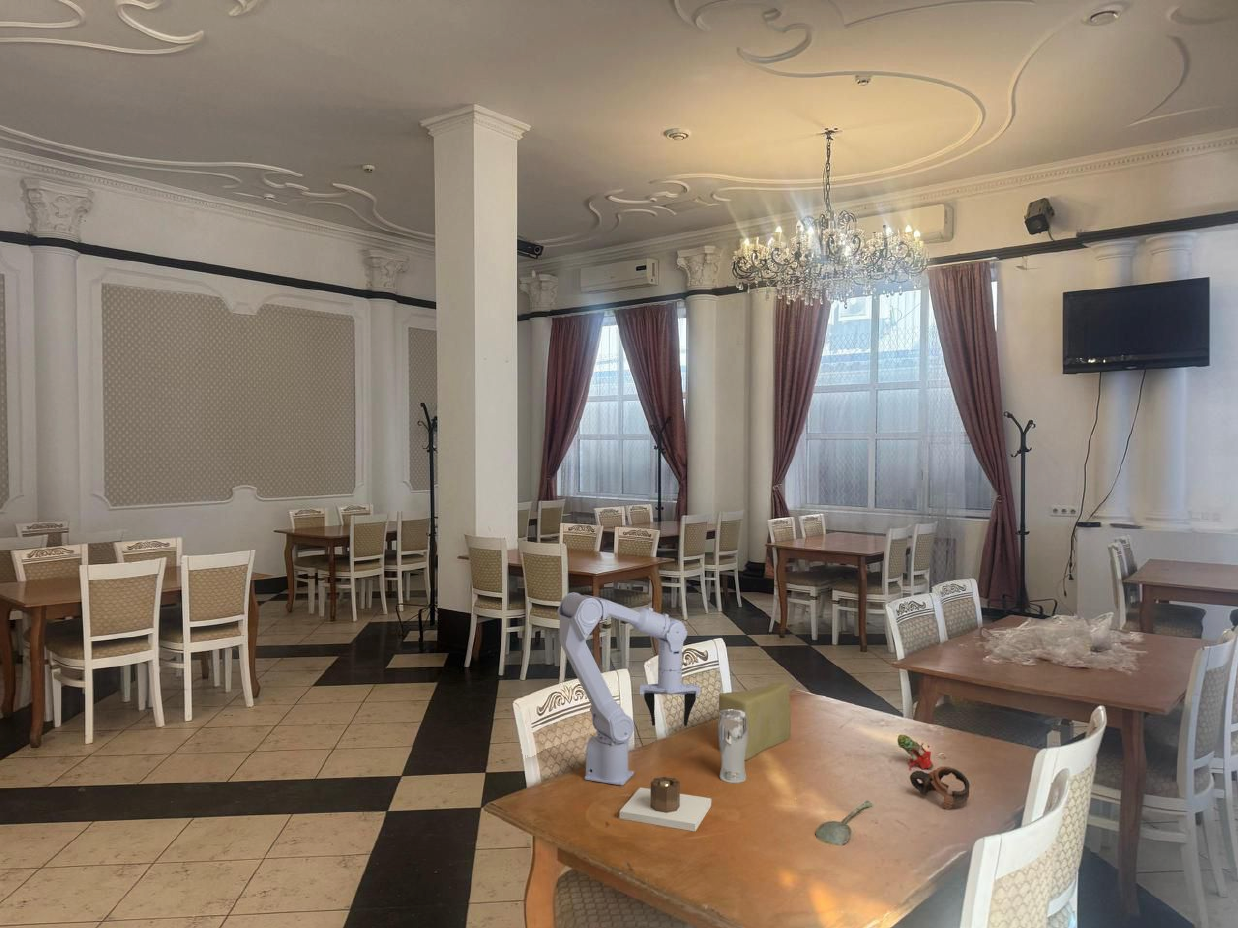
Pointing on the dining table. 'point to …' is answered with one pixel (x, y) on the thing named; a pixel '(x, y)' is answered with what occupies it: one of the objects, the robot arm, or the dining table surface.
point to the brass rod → (665, 783)
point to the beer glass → (733, 744)
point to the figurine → (915, 752)
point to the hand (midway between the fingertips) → (669, 724)
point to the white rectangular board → (683, 818)
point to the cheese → (762, 715)
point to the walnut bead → (665, 795)
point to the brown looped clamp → (941, 785)
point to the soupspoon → (838, 828)
